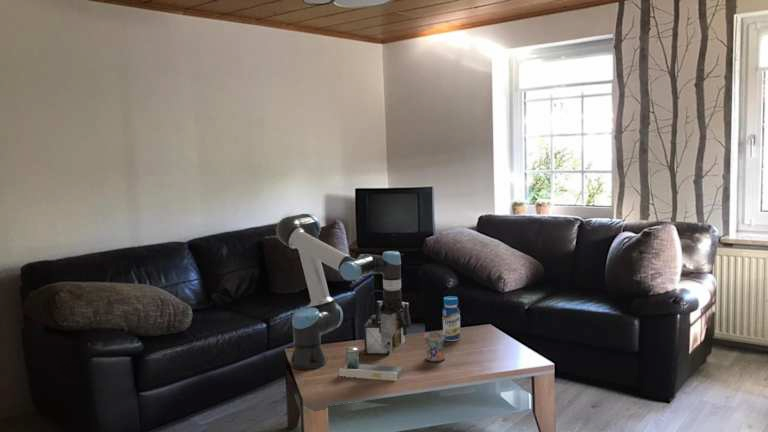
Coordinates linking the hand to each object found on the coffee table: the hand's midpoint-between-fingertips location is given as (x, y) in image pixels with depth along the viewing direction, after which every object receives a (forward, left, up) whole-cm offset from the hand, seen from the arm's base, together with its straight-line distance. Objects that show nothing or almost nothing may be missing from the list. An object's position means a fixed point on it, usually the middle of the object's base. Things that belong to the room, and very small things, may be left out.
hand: (393, 341), depth 257 cm
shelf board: (-6, -11, -11) cm, 16 cm away
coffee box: (0, 0, -3) cm, 3 cm away
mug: (+15, +12, -11) cm, 22 cm away
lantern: (-12, +17, -11) cm, 24 cm away
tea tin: (-14, -11, -8) cm, 20 cm away
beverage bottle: (+17, +40, -11) cm, 45 cm away
